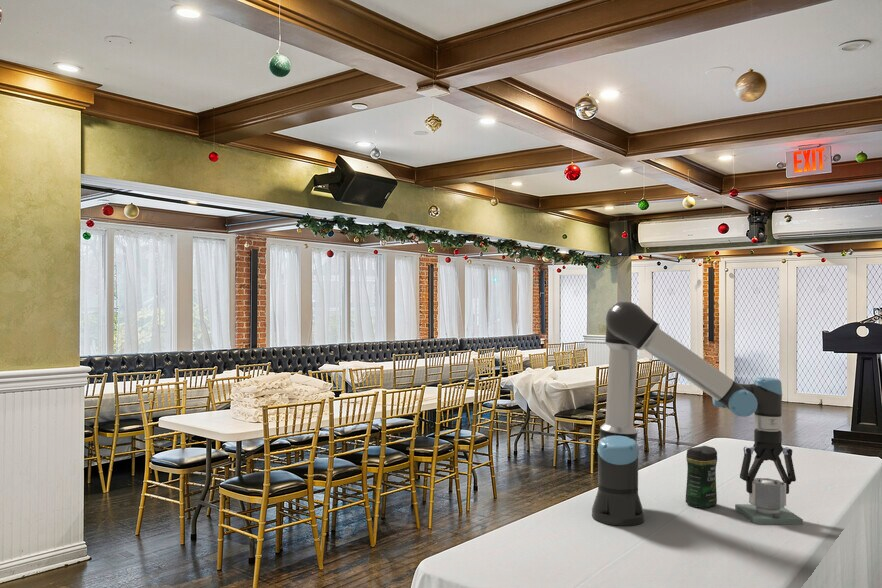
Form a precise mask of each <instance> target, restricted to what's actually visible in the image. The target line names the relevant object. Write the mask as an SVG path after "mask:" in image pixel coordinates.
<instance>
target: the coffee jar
mask: <svg viewBox="0 0 882 588" xmlns="http://www.w3.org/2000/svg"><path fill="white" fill-rule="evenodd" d="M685 460H686V465H687V466H686V467H687V469H686V470H687V475H686V490H685V503H686V504H687V505H689V506H691V507H693V508H697V507H698V508H702V509H705V508H706V509H707V508H711V507H714V506H716V505H717V504H718V497H717V496H718V495H717V494H718V493H717V474H716V473H717V463H718V450H717V449H716V448H715V447H713V446H707V445H702V446H696V447H695V446H694V447H690V448H689V449H687V450H686V459H685Z"/></svg>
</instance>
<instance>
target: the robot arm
mask: <svg viewBox="0 0 882 588" xmlns="http://www.w3.org/2000/svg"><path fill="white" fill-rule="evenodd" d="M605 322H606V323H605V324H606V325H605V327H606V328H605V340H604V342H605V344H606V345H607V346H608V348H609V353H608V354H609V355H608V356H609V357H608V372H607V373H608V374H607V388H606V405H605V406H606V407H605V422H604V423H603V424H602V425H601V426H600V427H599V441H598V446H597V455H598V457H597V483H598V484H597V493H596V495H595V498H594V501H593V504H592V507H591V517H592V519H594V520H595V521H597V522H600V523H603V524H607V525H613V526H620V527H621V526H624V527H625V526H636V525H640V524H642V523H644V521H645V511H644V509H643V504H642V501H641V499H640V496H639V456H640V449H639V445H638V430H637V429H636V427H635V426H634V417H635V416H634V415H635V398H636V397H635V395H636V381H637V367H638V366H637V365H638V364H637V363H638V351H642V350H644V351H646V352H647V353H649V354H650V355H652V356H653V357H655V358H656V359H657V360H658V361H660V362H661V363H663V364H664V365H665V366H667V367H669V368H670V369H671V370H673V371H675V372H676V373H677V374H679V375H680V377H681V376H682V377H683V378H684V379H686V380H687V381H688V382H690V383H691V384H693V385H694V386H696V387H697V388H698V389H700V390H701V391H703V392H704V393H706V394H707V395H708V396H710V397H711V398H712V399H711V400H712V404H713V406H714V407H715V408H720V409H728V410H729V411H730V412H731V413H732V414H733V415H735V416H738V417H741V418H743V417H744V418H745V417H750V416H751V415H753V414H754V417H753V419H754V423H753V425H754V428H755V429H754V430H753V434H754V435H753V437H754V438H753V440H754V444H753V446H749V447H747V446H744V447H743V454H744V456H743V459H742V463H741V469H740V474H739V478H740V479H741V480H743V481H745V483H746V485H745V486H746V487H745V488H746V490H745V491H746V493H748V496H749V497H748V504H752V505H755V487H756V483H754V482H753V480H754V479H755V478H756V476H757V474H758V472H759V470H760V468H761V466H762V464H763V463H764V461H772V462H773V464H774V466H775V468H776V470H777V472H778V474H779V476H780V479H781V482H783V483H784V484H785V497H784V507H786V506H787V495H788V494H790V485H791V484H792V482H794V483H795V482H796V481H797V478H796V473H795V468H794V461H793V457H792V455H793V449H791V447H783V446H782V443H783V440H782V439H783V435H782V433H783V432H782V431H781V430H782V425H783V422H782V421H783V417H782V413H783V412H782V411H783V410H782V409H783V408H782V407H783V388H782V387H783V386H782V381H781V380H780V379H778V378H775V377H756V378H755V379H754V383H749V384H748V383H747V384H746V383H738V382H736V381H734V380H733V379H732V378H730V377H729V376H728V375H726V374H725V373H724V372H722V371H721V370H719V369H718V368H717V367H715V366H714V365H712V364H711V363H709V362H708V361H706V360H705V359H704V358H702V357H700V356H699V355H698V354H696V353H695V352H693V351H692V350H690V349H689V348H688V347H686V346H685V345H683V344H682V343H681V342H680V341H677V340H676V339H675V338H673V337H672V336H671V335H669V334H668V333H666V332H665V331H663V330H662V329H661V328H660V324H659V323H658V322H657V321H655V320H654V319H653V318H651V317H650V316H649V315H648V314H647V313H646V312H645V311H644V310H643V309H642V308H641V306H639V305H638V304H636V303H634V302H631V301H630V302H629V301H620V302H616V303H615V304H613V305H612V306H611V307H610V308H609V309H608V311H607V314H606V317H605ZM754 453H755V457H754V458H753V459H754V461H753V463H752V464H751V461H752V455H753V454H754ZM781 454H783V457H784V463H785V467H784V466H783V463H782V460H781V457H780V455H781ZM750 466H751V467H750ZM785 468H786V470H785Z"/></svg>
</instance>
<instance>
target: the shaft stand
mask: <svg viewBox="0 0 882 588" xmlns="http://www.w3.org/2000/svg"><path fill="white" fill-rule="evenodd" d="M762 483H765V484H774V482H773V481H769V480H762ZM734 508H735V509H734V510H736V511H737V512H738V513H740V514H741V515H742V516H744V517H745V518H746V519H748V520H749V521H750V522H751V523H753V524H754V525H755V524H756V525H757V524H759V525H763V524H764V525H803V524H804V519H803V518H802V517H800V516H799V515H797V514H796V513H794V512H792V511H790V510H789V509H787V508H786V507H785V506H784V507H783V508H781V509H766V508H761V507H757V506H755V505H752V504H751V503H748V504H747V503H746V504H744V503H741V504H738V503H735V504H734Z"/></svg>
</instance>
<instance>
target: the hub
mask: <svg viewBox="0 0 882 588" xmlns="http://www.w3.org/2000/svg"><path fill="white" fill-rule="evenodd" d="M762 480H769V481H773V482H774V484H765V483H762ZM753 482H754V483H756V487H755V506H757V507H761V508H766V509H781V508H783V507H784V508H785V506H784V497H785V484H784V483H783V481H782V480H779V479H775V478H774V479H773V478H769V477H767V478H766V477H755V478H754V480H753Z"/></svg>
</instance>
